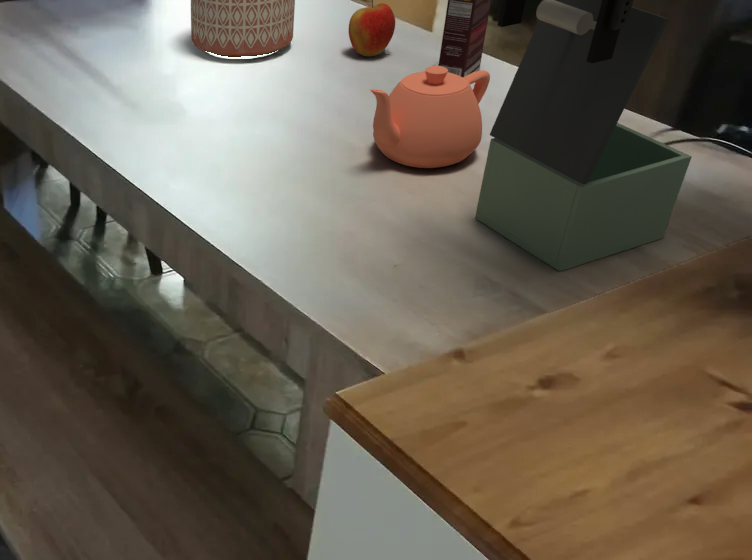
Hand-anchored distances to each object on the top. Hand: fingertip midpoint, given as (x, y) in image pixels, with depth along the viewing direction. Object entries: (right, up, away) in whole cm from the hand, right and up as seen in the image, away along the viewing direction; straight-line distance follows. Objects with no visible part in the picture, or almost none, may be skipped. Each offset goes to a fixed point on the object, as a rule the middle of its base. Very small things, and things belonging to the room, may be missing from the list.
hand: (551, 41), depth 100 cm
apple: (-3, +28, +70) cm, 76 cm away
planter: (-26, +33, +76) cm, 87 cm away
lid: (+4, -3, +5) cm, 7 cm away
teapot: (-3, 0, +38) cm, 38 cm away
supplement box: (+9, +20, +60) cm, 64 cm away
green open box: (+10, -16, +19) cm, 27 cm away
